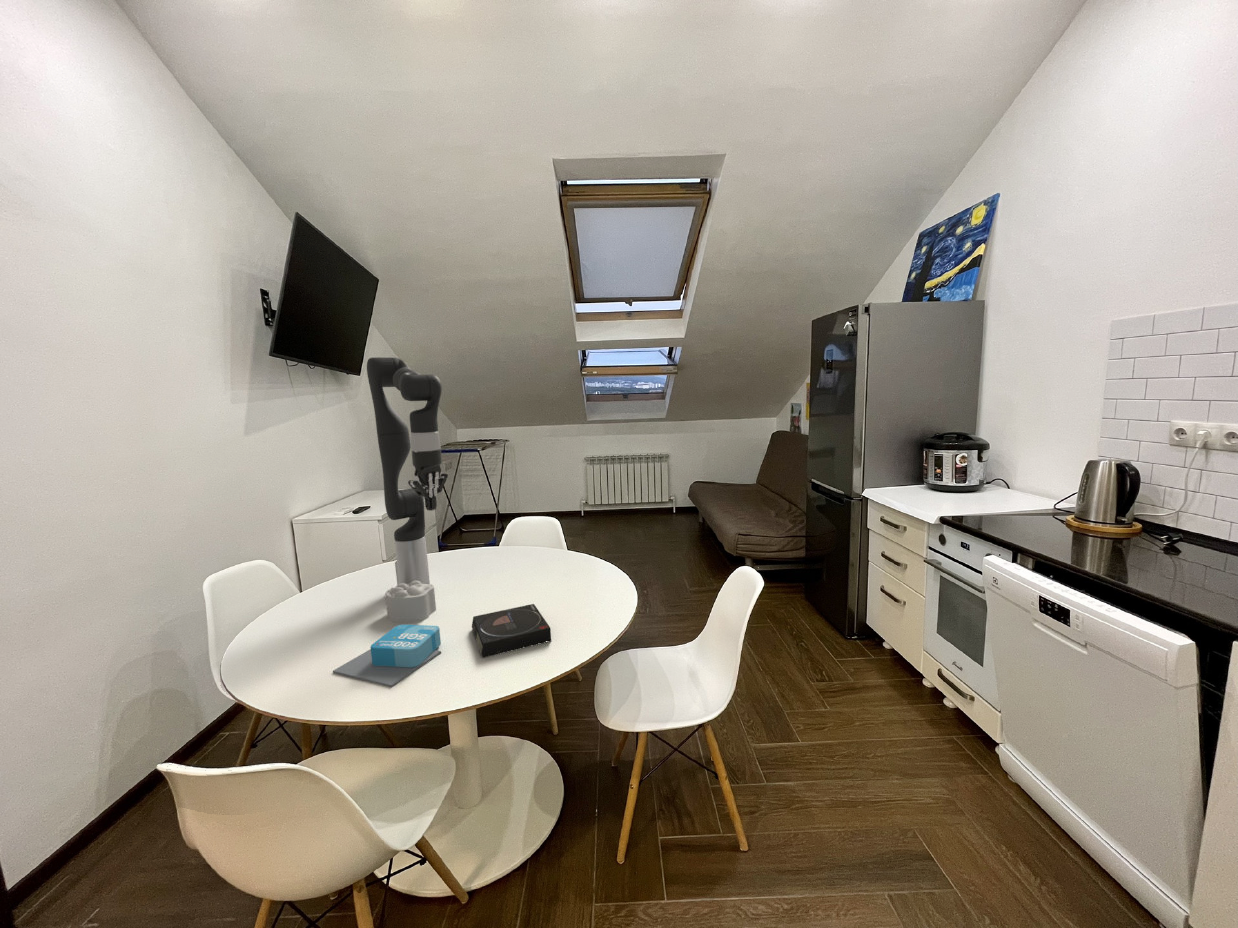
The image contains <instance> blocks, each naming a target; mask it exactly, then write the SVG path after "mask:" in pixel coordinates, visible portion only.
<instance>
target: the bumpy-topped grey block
mask: <svg viewBox="0 0 1238 928" xmlns="http://www.w3.org/2000/svg"><path fill="white" fill-rule="evenodd" d="M435 594H436V593H435V586H434V585H432V584H421V582H419V581H413V582H411V583H410V584H407V585H406V584H404V583H401V584H399V585H397V584H396V586H395V587H391V588H389V589H387V590H386V592H385V593H384V597H385V605H386V613H387V619H388V620H389V621H392V622H394V623H417V622H421V621H424V620H425V621H426V620H427V619H428V618H429V617H430V616H431V615H432V614H433V613H435V612H436V611H437V606H436V605H437V603H436V595H435Z"/></svg>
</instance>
